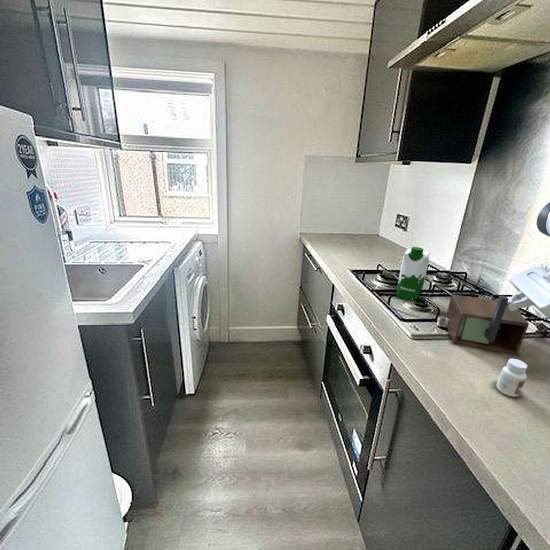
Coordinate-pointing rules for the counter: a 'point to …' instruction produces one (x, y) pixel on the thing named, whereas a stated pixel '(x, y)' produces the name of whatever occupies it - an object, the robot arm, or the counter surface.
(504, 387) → the pill bottle
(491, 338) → the sliding door
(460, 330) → the cupboard
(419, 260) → the milk carton
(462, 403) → the counter surface
